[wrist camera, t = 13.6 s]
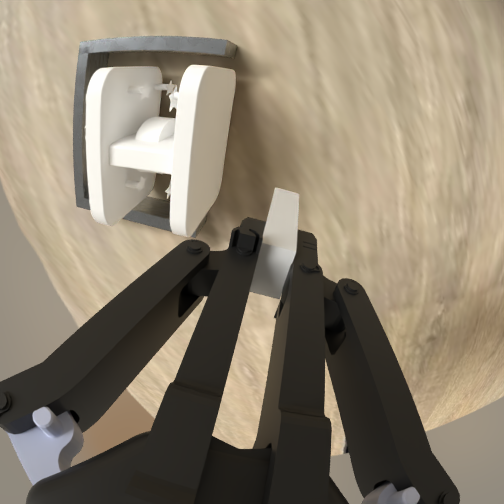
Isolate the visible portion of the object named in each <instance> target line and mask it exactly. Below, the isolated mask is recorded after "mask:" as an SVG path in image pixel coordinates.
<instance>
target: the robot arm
mask: <svg viewBox="0 0 504 504" xmlns="http://www.w3.org/2000/svg"><path fill="white" fill-rule="evenodd" d="M298 211H299V194H298V193H295V192H291V191H287V190H284V189H280V188H276V187H275V191H274V194H273V198H272V202H271V206H270V210H269V213H268V217H267V221H266V222H265V221H261V220H257V219H253V218H249V217H248V218H246V219H244V220H243V221H242V223H241V225H240V227H236V228H234V229H233V230H232V233H231V238H230V244H229V248H228V249H227V250H224V251H210V247H209V246H208V245H207V244H206V243H204V242H203V241H199V240H186V241H184V242H182V243H181V244H179V245H178V246H177V247H175V248H174V249H173V250H172V251H170V252H169V253H168V254H167V255H165V256H164V257H163V258H162V259H160V260H159V261H158V262H157V263H156V264H154V265H153V266H152V267H151V268H149V269H148V270H147V271H146V272H145V273H143V274H142V275H141V276H140V277H138V278H137V279H136V280H135V281H134V282H132V283H131V284H130V285H129V286H128V287H127V288H125V289H124V290H123V291H122V292H121V293H119V294H118V295H117V296H116V297H115V298H114V299H112V300H111V301H110V302H109V303H108V304H107V305H105V306H104V307H103V308H102V309H101V310H100V311H99V312H97V313H96V314H95V315H94V316H93V317H92V318H91V319H89V320H88V321H87V322H86V323H85V324H84V325H83V326H82V327H80V328H79V329H78V330H77V331H76V332H75V333H74V334H73V335H72V336H71V337H69V338H68V339H67V340H66V341H65V342H64V343H63V344H62V345H61V346H60V347H59V348H57V349H56V350H55V351H54V352H53V353H52V354H51V355H50V356H49V357H48V358H47V359H46V360H45V361H44V362H42V363H40V364H38V365H36V366H34V367H31V368H29V369H27V370H25V371H23V372H21V373H19V374H16V375H14V376H12V377H10V378H8V379H6V380H3V381H1V382H0V427H1V428H3V429H4V430H5V431H6V432H7V433H8V435H9V437H10V440H11V442H12V444H13V447H14V449H15V451H16V453H17V455H18V458H19V460H20V462H21V464H22V465H23V468H24V470H25V472H26V474H27V475H28V477H29V479H30V481H31V482H32V485H33V487H32V488H31V490H30V491H29V493H28V496H27V500H26V504H349V503H348V502H347V500H346V499H345V497H344V496H343V495H342V493H341V492H340V490H339V489H338V487H337V486H336V485H335V483H334V482H333V480H332V479H331V477H330V476H329V472H330V455H331V432H332V428H331V421H330V419H329V418H327V417H325V415H324V397H325V359H326V363H327V366H328V370H329V374H330V377H331V381H332V385H333V389H334V393H335V396H336V400H337V404H338V408H339V412H340V416H341V420H342V424H343V428H344V432H345V437H346V441H347V445H348V449H349V454H350V458H351V462H352V467H353V471H354V475H355V478H356V482H357V484H358V487H359V489H360V492H361V494H362V496H363V497H364V500H363V502H362V504H459V502H460V495H459V492H458V490H457V488H456V486H455V485H454V483H453V482H452V480H451V479H450V477H449V476H448V475H447V473H446V472H445V470H444V469H443V467H442V466H441V464H440V463H439V461H438V460H437V459H436V457H435V456H434V454H433V453H432V451H431V448H430V445H429V442H428V439H427V436H426V433H425V430H424V428H423V425H422V422H421V419H420V416H419V414H418V411H417V408H416V406H415V403H414V400H413V398H412V395H411V393H410V390H409V388H408V385H407V383H406V380H405V378H404V375H403V373H402V370H401V368H400V366H399V363H398V361H397V358H396V356H395V354H394V352H393V349H392V347H391V345H390V343H389V340H388V338H387V336H386V334H385V331H384V329H383V327H382V325H381V323H380V321H379V319H378V316H377V314H376V312H375V310H374V308H373V306H372V304H371V302H370V300H369V298H368V296H367V294H366V292H365V290H364V288H363V287H362V286H361V285H360V284H359V283H358V282H356V281H354V280H352V279H347V278H345V279H341V280H339V282H338V284H337V283H335V282H333V281H331V280H329V279H327V278H326V277H325V276H323V271H322V268H321V267H320V266H319V265H318V255H317V239H316V238H315V236H314V235H313V234H312V233H308V232H305V231H301V230H298ZM249 292H253V293H257V294H261V295H265V296H269V297H273V298H277V299H280V296H281V300H280V303H279V305H278V308H277V311H276V313H275V316H274V318H276V324H275V331H274V338H273V344H272V351H271V357H270V363H269V369H268V376H267V382H266V388H265V393H264V399H263V405H262V411H261V416H260V422H259V428H258V433H257V437H256V441H255V443H254V446H253V449H238V448H236V447H234V446H231V445H229V444H227V443H225V442H223V441H221V440H219V439H217V438H215V437H213V436H212V433H213V430H214V426H215V422H216V418H217V415H218V411H219V407H220V403H221V399H222V395H223V391H224V387H225V384H226V380H227V376H228V372H229V368H230V365H231V361H232V357H233V353H234V349H235V345H236V342H237V338H238V334H239V330H240V326H241V322H242V318H243V314H244V311H245V307H246V303H247V299H248V295H249ZM281 294H282V295H281ZM204 296H208V298H207V300H206V303H205V305H204V308H203V310H202V313H201V315H200V318H199V320H198V323H197V325H196V327H195V330H194V332H193V335H192V337H191V340H190V342H189V345H188V347H187V350H186V352H185V355H184V358H183V360H182V363H181V365H180V368H179V370H178V373H177V375H176V378H175V380H174V382H172V383H170V384H169V386H168V388H167V390H166V392H165V395H164V397H163V400H162V402H161V405H160V408H159V410H158V413H157V415H156V418H155V420H154V423H153V426H152V428H151V431H149V432H145V433H141V434H139V435H136V436H134V437H132V438H130V439H129V440H126V441H124V442H123V443H121V444H119V445H117V446H115V447H113V448H111V449H109V450H107V451H105V452H103V453H101V454H99V455H97V456H94V457H92V458H90V459H88V460H86V461H84V462H82V463H79V464H77V465H75V466H73V467H70V465H71V461H72V459H73V457H75V456H76V454H77V453H79V452H80V450H81V449H82V447H83V442H84V439H83V434H82V433H83V432H85V431H86V430H87V429H89V428H90V427H91V426H92V425H94V424H95V423H96V422H97V421H98V420H99V419H100V418H101V417H102V416H103V415H104V413H105V412H106V411H107V410H108V409H109V408H110V407H111V405H112V404H113V403H114V402H115V401H116V399H117V398H118V397H119V396H120V395H121V394H122V392H123V391H124V390H125V389H126V388H127V387H128V386H129V384H130V383H131V382H132V381H133V380H134V379H135V377H136V376H137V375H138V374H139V373H140V372H141V370H142V369H143V368H144V367H145V366H146V365H147V363H148V362H149V361H150V360H151V359H152V358H153V356H154V355H155V354H156V353H157V352H158V351H159V349H160V348H161V347H162V346H163V345H164V344H165V343H166V341H167V340H168V339H169V338H170V337H171V336H172V334H173V333H174V332H175V331H176V330H177V329H178V328H179V326H180V325H181V324H182V323H183V322H184V321H185V319H186V318H187V317H188V316H189V315H190V314H191V313H192V311H193V310H194V309H195V308H196V307H197V306H198V304H199V303H200V302H201V301H202V300H203V298H204Z"/></svg>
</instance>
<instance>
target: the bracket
mask: <svg viewBox="0 0 504 504" xmlns="http://www.w3.org/2000/svg"><path fill="white" fill-rule="evenodd" d="M236 48H237V45H236V44H234V43H232V42H230V41H228V40H222V39H212V38H199V37H180V36H140V37H121V38H108V39H99V40H90V41H83V42H80V48H79V55H78V63H77V72H76V82H75V95H74V116H73V159H74V180H75V194H76V205H77V207H80V208H84V209H88V210H91V209H90V203H89V189H88V177H87V159H86V140H85V136H86V128H84V127H85V126H86V94H87V89H88V85H89V82H90V80H91V77H92V76H93V74H94V73H95V72H96V71H97V70H98V69H100V68H107V63H108V56H109V53H117V52H173V53H190V54H202V55H212V56H220V57H228V58H234V57H235V53H236ZM206 217H207V214H206V215H205V216H204V218H203V219H202V221H201V222H200V224H199V225H198V227H197V228H196V230H195V231H194V233H193V234H192V236H191V237H194V238H196V236H197V234H198V233H199V231H200V230H201V228H202V227H203V225H204V224H205V222H206ZM122 219H126V220H129V221H133V222H137V223H141V224H145V225H148V226H152V227H156V228H160V229H163V230H167V231H171V232H172V230H171V227H170V202H169V201H165V200H161V199H156V198H152V197H148V196H147V197H146V198H145V199H143V200H142V201H141V202H140V203H139V204H138V205H137V206H135V207H134V208H133V209H132V210H131V211H130V212H129V213H128V214H126V215H125V216H124V217H123V218H122Z"/></svg>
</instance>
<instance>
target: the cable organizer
mask: <svg viewBox="0 0 504 504" xmlns="http://www.w3.org/2000/svg"><path fill="white" fill-rule="evenodd" d="M235 86H236V74H235V71H234V70H232V69H227V68H221V67H214V66H205V65H190V66H189V67H188V68H187V69H186V71H185V73H184V75H183V77H182V80H181V84H180V88H179V92H177V85H176V86H175V85H173V84H172V80H171V81H170V84H162V74H161V71H160V69H159V68H158V67H152V66H132V67H108V68H100V69H98V70H97V71H96V72H95V73H94V74H93V76H92V77H91V80H90V82H89V85H88V89H87V94H86V126H85V127H84V128H86V136H85V140H86V159H87V177H88V189H89V203H90V209H91V214H92V216H93V218H94V220H95V221H96V222H97V223H100V224H104V225H108V226H114V225H115V224H117V223H118V222H119V221H120V220H121V219H122V218H123V217H124V216H125V215H126V214H128V213H129V212H130V211H131V210H132V209H133V208H134V207H135V206H137V205H138V204H139V203H140V202H141V201H142V200H143V199H145V198H146V197H147V196H148V195H149V194H150V193H151V191H152V189H153V186H154V183H155V177H156V173H160V174H161V176H162V174H171V181H170V185H169V187H168V189H167V190H166V191H165V192H166V193H168V194H167V199H168V197H169V195H170V194H171V196H170V227H171V230H172V232H173V234H176V235H180V236H185V237H191V236H192V234H193V233H194V231H195V230H196V228H197V227H198V225H199V224H200V222H201V221H202V219H203V218H204V216H205V215H206V214H207V212H208V211H209V209H210V208H211V206H212V205H213V203H214V202H215V201H216V199H217V197H218V194H219V191H220V187H221V182H222V175H223V168H224V160H225V153H226V146H227V139H228V132H229V126H230V119H231V112H232V106H233V100H234V94H235ZM174 87H175V89H174V92H173V88H174ZM162 90H167V94H166V95H168V94H169V93H171V95H169V98H170V100H171V102H170V111H171V110H172V108H173V107H175V108H176V110H177V111H176V118H167V117H159V113H160V102H161V92H162ZM170 111H169V112H170Z"/></svg>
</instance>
